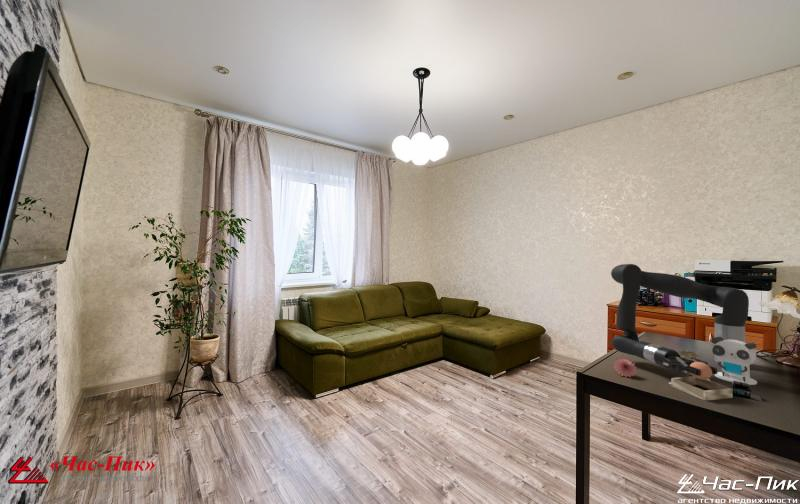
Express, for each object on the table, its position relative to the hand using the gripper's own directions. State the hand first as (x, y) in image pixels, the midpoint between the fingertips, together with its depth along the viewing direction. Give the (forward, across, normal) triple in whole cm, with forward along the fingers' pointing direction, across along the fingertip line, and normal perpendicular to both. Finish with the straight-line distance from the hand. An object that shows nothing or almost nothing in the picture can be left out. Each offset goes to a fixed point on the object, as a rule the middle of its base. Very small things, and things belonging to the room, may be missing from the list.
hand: (708, 372), depth 109 cm
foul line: (-10, +5, +8) cm, 14 cm away
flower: (-20, -13, +8) cm, 25 cm away
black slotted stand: (+2, +11, +9) cm, 14 cm away
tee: (-16, +13, +8) cm, 22 cm away
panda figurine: (-9, +25, +8) cm, 28 cm away
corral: (-2, 0, +8) cm, 8 cm away
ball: (-2, 0, 0) cm, 3 cm away
